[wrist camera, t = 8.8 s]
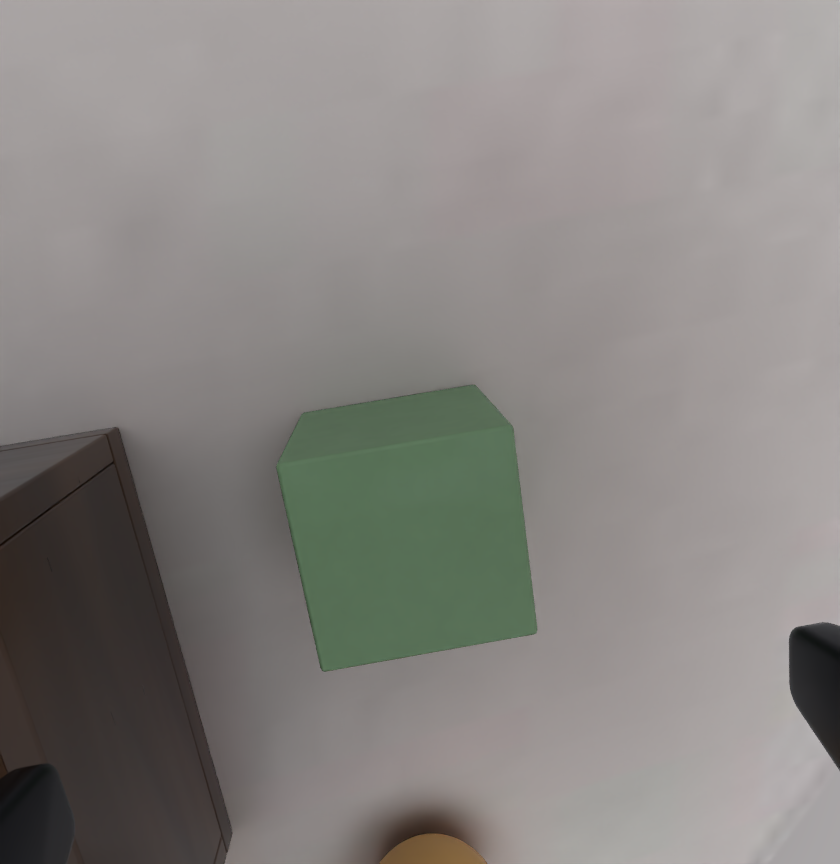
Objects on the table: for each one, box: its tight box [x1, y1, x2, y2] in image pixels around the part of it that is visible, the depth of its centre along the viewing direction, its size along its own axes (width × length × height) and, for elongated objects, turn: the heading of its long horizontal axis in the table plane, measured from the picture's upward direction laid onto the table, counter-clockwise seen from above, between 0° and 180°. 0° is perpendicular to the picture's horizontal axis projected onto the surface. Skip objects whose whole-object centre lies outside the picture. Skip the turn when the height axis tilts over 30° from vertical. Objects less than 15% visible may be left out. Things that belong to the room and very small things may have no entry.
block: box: [276, 385, 537, 672], centre depth 14 cm, size 4×4×4 cm
